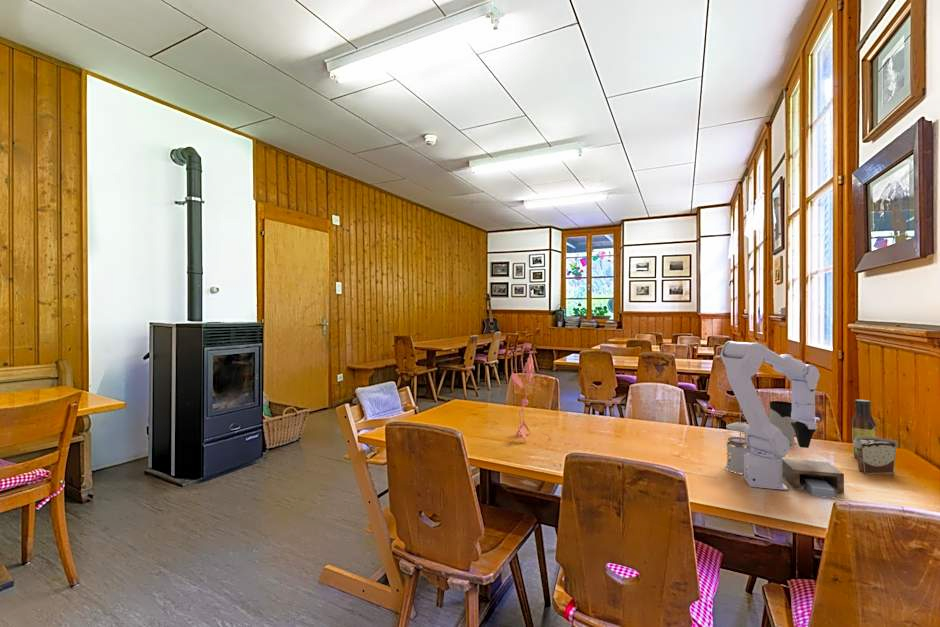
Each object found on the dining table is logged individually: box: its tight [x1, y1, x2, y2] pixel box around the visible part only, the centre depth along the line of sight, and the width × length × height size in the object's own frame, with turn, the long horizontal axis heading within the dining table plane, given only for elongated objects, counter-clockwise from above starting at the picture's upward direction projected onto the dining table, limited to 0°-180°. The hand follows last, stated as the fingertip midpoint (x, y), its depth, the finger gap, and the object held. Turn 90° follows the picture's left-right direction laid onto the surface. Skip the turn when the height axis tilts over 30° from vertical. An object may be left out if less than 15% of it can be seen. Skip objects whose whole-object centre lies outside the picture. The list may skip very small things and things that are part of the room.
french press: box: [724, 406, 752, 474], centre depth 145 cm, size 10×12×25 cm
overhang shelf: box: [782, 458, 845, 494], centre depth 132 cm, size 12×10×6 cm
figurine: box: [511, 353, 536, 441], centre depth 183 cm, size 15×26×35 cm, turn 163°
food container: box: [852, 436, 899, 475], centre depth 142 cm, size 12×6×10 cm, turn 92°
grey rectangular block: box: [804, 479, 836, 498], centre depth 126 cm, size 5×7×2 cm
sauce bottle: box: [851, 399, 877, 459], centre depth 153 cm, size 7×6×20 cm
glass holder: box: [768, 400, 796, 445], centre depth 174 cm, size 9×14×15 cm, turn 88°
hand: (803, 447), depth 137 cm, fingers closed
